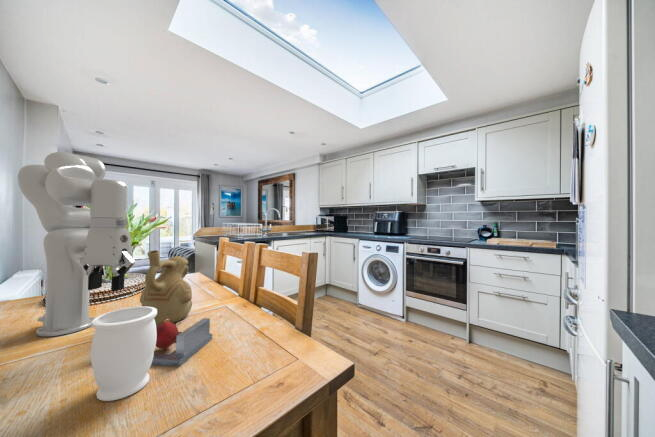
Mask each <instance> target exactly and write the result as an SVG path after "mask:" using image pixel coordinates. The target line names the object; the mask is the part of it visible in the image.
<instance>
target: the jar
mask: <svg viewBox="0 0 655 437" xmlns="http://www.w3.org/2000/svg"><path fill="white" fill-rule="evenodd" d="M156 315H157V309H156V308H155V307H149V306H142V305H140V306H133V307H132V306H131V307H126V308H120V309H116V310H113V311H112V310H111V311H108V312H105V313H104V314H100V315H99V316H97V317H94V318H95V319H94V320H93V323H92V325H91V327H92V329H94V333H93V337H92V339H91V345H90V360H91V361H90V362H91V368H92V370H93V371H92V372H93V378H94V380H95V383H96V385H97V386H98V387H99V388H98V389H97V392H96V398H97V400H100V401H103V402H113V401H117V400H121V399H124V398H126V397H128V396H132V395H134V394H135V393H137V392H139V391H140V390H142V389H143V388H145V387H146V385H147V384H148V383H149V382H150V378H151V376H150V374H149V373H148V372H149V370H150V369H151V366H152V365H151V364H152V360H153V356H154V353H155V350H156V339H157V330H156V329H157V326H156V323H155V320H154V317H155V316H156Z"/></svg>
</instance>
